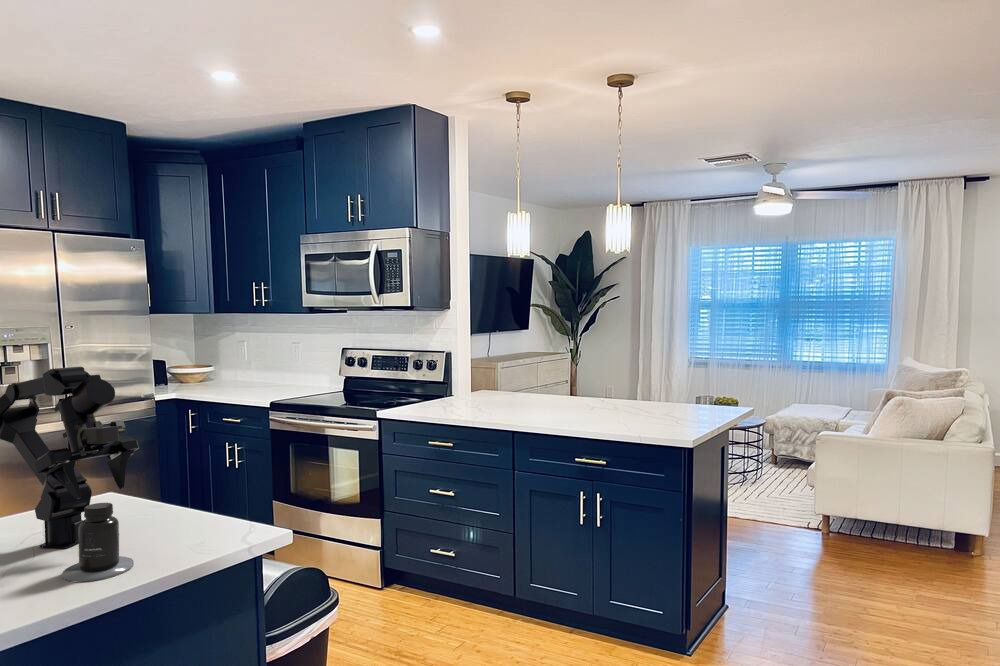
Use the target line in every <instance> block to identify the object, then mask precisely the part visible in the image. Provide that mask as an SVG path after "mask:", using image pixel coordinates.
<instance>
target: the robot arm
mask: <svg viewBox="0 0 1000 666" xmlns="http://www.w3.org/2000/svg"><path fill="white" fill-rule="evenodd" d="M63 395H64V396H65V395H69V396H66V397H64V398H58V401H57V403H56V405H54V412H56V413H57V412H60V413H59V414H60V417H61V420H62V423H63V426H64V430H65V432H63V433H62V438H63V439H68V440H67V441H68V444H69V446H70V447H69V448H70V449H69V448H68V447H63V448H58V449H52V450H51V449H50V448H49V446H48V445H47V444H46V443H45V441H44V440H43V438H42V436H40V434H39V433H38V432H37V430H36V427H37V423H38V418H37V417H38V416H39V412H40V407H39V405H38V403H37V401H36V400H37V397H42V396H52V397H54V396H55V397H56V396H63ZM115 397H116V389H115V387H114V386H112V384H111V383H110V382H109V381H107V380H105V379H102V377H101V374H90V373H89V372H88V371H87V370H85V368H84V367H83V366H69V367H58V368H57V367H56V368H55V367H54V368H50V369H48V370H46V371H45V372H43V373H42V376H40V377H37V378H33V379H28V380H25V381H20V382H12V383H9V384H8V385H7V386H6V389H5V391H4V394H2V395H1V396H0V440H2V441H5V442H7V443H10V444H12V445H13V446H14V447H15V448H16V450H17V452H18V453H19V455H20V456H21V457H22V458H23V460H24V461H25V463H26V464H27V465H28V467H29V468H30V469H31V471H32V472H33V474H34V475H35V477H36V478H37V480H38V481H39V483H41V485H42V489H41V493H40V500H39V502H38V504H36V505H35V508H34V512H35V518H36V519H37V520H40V521H41V520H42V521H43V522H44V523H43V524H44V543H41V544H39V548H42V549H43V548H45V549H46V548H48V549H49V548H50V549H51V548H52V549H68V548H71V547H72V546H75V545H76V544H79V532H78V529H79V525H80V523H81V522H82V521H84V520H82V513H84V508H85V507H86V506H88V505H91V499H92V494H93V493H92V488H91V486H90V485H89V484H88V483H87V481H88V480H87V478H85V477H84V475H82V472H81V471H80V470H79V469H78V468H75V464H76V462H78V461H83V460H89V459H96V458H101V457H106V458H107V459H109V460H108V461H107V462H106V463H107V465H108V468H109V470H110V473H111V475H112V476H113V479H114V482H115V483H116V486H117V487H118V489H119V490H123V489H124V488H125V482H126V481H125V480H126V471H127V470H126V469H127V464H128V461H129V459H130V457H131V456H133V455H134V454H135V452H136V451H137V450H139V449H140V446H139V442H138V440H137V439H135V438H133V437H128V438H121V439H120V437H122V436H123V437H124V436H126V434H127V427H126V425H125V423H124V420H113V421H111V422H110V424H109V426H104V425H103V423H102V422H101V420H98V421H97V420H96V417H95V414H97V413H98V412H99V411H101V410H102V409H103V408H105V407H106V406H107V405H109V404H110V403H112V402H113V400H114V399H115ZM22 400H23V401H24V400H29V403H28V405H23V406H22V405H20V406H13V405H14V404H15V402H16V401H22ZM111 442H112V443H111ZM110 443H111V444H110ZM107 445H108V446H107Z"/></svg>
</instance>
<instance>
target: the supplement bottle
mask: <svg viewBox="0 0 1000 666" xmlns="http://www.w3.org/2000/svg"><path fill="white" fill-rule="evenodd" d="M83 513H84V515H83V517H84V518H85V519H84V520H83V521H82V522H81V523H80V525H79V529H78V532H79V543H78V563H79V568H80V570H81V571H83V572H100V571H105V570H108V569H111V568H113V567H115V566H116V565H117V564H118V563H119V556H120V522H119V520H118V518H117V517H115V516H113V515H114V505H113V503H111V502H97V503H96V502H95V503H90V505H88V506H86V507H85V508H84V512H83Z"/></svg>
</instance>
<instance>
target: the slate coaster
mask: <svg viewBox="0 0 1000 666" xmlns="http://www.w3.org/2000/svg"><path fill="white" fill-rule="evenodd" d="M134 562H135V561H134V559H133V558H131V557H127V556H120V555H119V563H118V564H117V565H116V566H115V567H113V568H111V569H108V570H105V571H100V572H83V571H81V570H80V568H79V562H76V563H75V564H72V565H70V566H68V567H67V568H65V569H64V570H63V571H62V574H61V575H62V576H61V578H62V577H63V578H62V579H63V580H64V579H65V581H67V580H68V581H67V582H71V581H89V582H95V581H94V580H97V581H102V580H106V578H107V579H109V578H110V577H111V578H114V577H117V576H120V575H122V574H125V573H127V572H128V571H130V570H131V569H132V568H133V567H134V564H135V563H134ZM129 569H130V570H129ZM119 574H120V575H119ZM116 575H117V576H116ZM113 576H114V577H113ZM101 579H102V580H101Z"/></svg>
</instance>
